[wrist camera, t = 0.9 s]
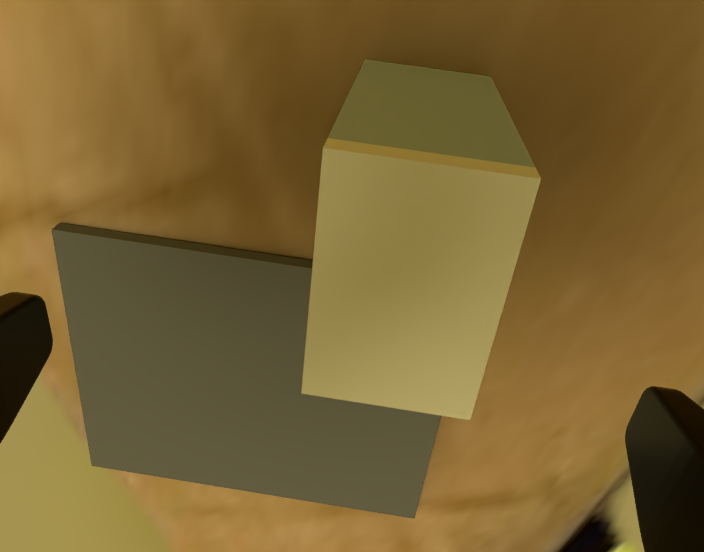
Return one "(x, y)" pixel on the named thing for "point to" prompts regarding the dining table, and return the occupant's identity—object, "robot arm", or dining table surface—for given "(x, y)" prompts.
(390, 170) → the pale green block
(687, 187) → the dining table surface
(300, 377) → the mat
